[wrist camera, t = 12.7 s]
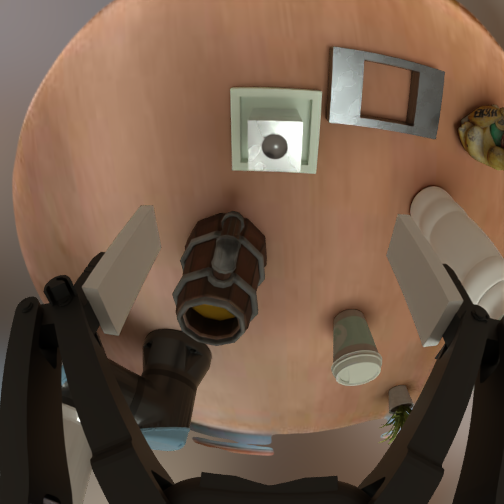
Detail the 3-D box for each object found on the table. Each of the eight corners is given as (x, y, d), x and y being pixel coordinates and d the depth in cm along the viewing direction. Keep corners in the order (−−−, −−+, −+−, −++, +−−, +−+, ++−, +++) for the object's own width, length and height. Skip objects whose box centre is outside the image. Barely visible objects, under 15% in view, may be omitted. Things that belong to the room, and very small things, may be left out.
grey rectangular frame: (325, 118, 32) (329, 122, 30) (329, 47, 27) (333, 46, 25) (427, 134, 31) (435, 139, 30) (435, 70, 26) (444, 71, 24)
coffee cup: (337, 299, 49) (347, 357, 40) (379, 308, 50) (394, 362, 40) (318, 330, 54) (323, 385, 44) (357, 336, 55) (367, 388, 45)
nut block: (253, 147, 35) (248, 171, 28) (253, 108, 32) (247, 121, 25) (295, 149, 34) (300, 173, 28) (296, 109, 31) (303, 122, 25)
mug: (257, 284, 48) (250, 362, 36) (184, 267, 47) (157, 341, 35) (285, 199, 39) (288, 272, 27) (196, 178, 38) (158, 242, 26)
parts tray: (234, 164, 37) (232, 170, 35) (233, 87, 31) (230, 88, 29) (313, 167, 36) (315, 173, 34) (319, 90, 30) (322, 91, 28)
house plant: (359, 395, 70) (365, 449, 57) (400, 371, 63) (413, 429, 50) (387, 404, 74) (394, 451, 61) (425, 383, 67) (437, 433, 54)
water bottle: (432, 174, 35) (540, 302, 14) (455, 204, 37) (548, 329, 16) (399, 209, 38) (480, 354, 18) (425, 235, 40) (498, 371, 20)
